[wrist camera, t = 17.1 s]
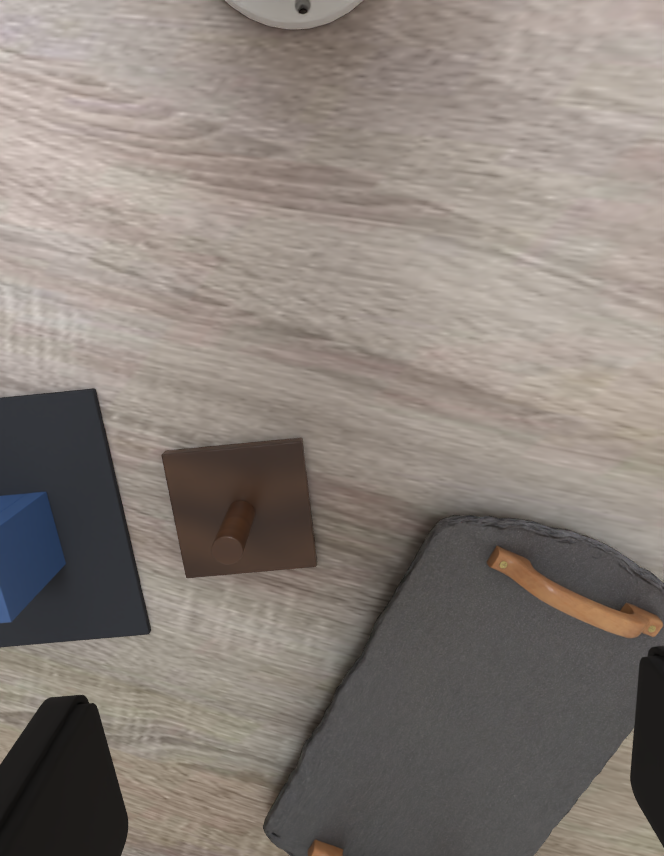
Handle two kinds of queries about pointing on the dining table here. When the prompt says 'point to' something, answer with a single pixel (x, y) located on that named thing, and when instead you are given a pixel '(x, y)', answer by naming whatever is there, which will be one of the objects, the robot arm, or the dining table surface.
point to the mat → (72, 520)
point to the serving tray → (477, 698)
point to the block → (26, 550)
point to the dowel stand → (241, 507)
